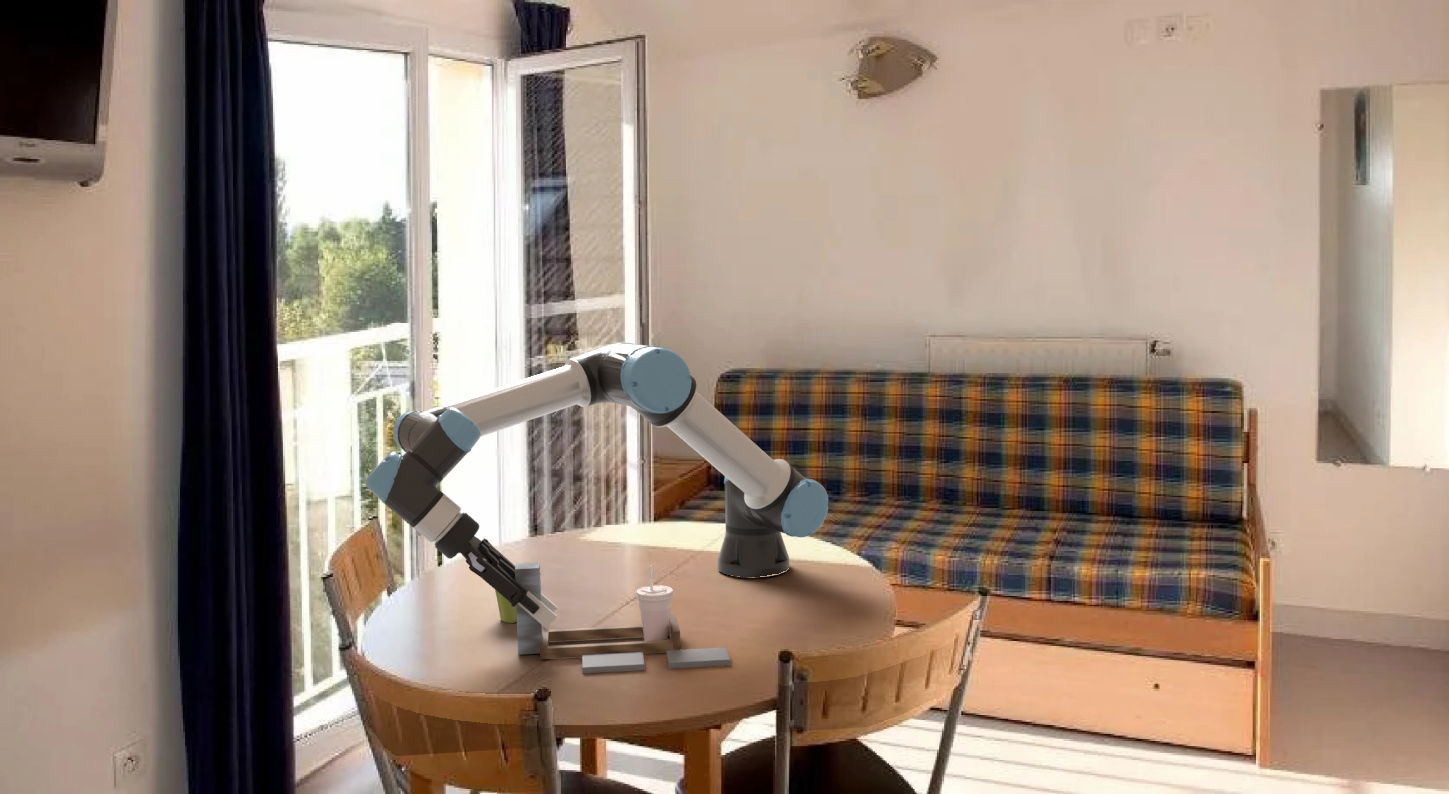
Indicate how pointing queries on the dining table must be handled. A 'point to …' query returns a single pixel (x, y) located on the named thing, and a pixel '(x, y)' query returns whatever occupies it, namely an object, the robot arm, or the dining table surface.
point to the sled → (579, 629)
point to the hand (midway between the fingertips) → (551, 617)
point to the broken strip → (636, 660)
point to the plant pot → (506, 609)
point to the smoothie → (655, 609)
